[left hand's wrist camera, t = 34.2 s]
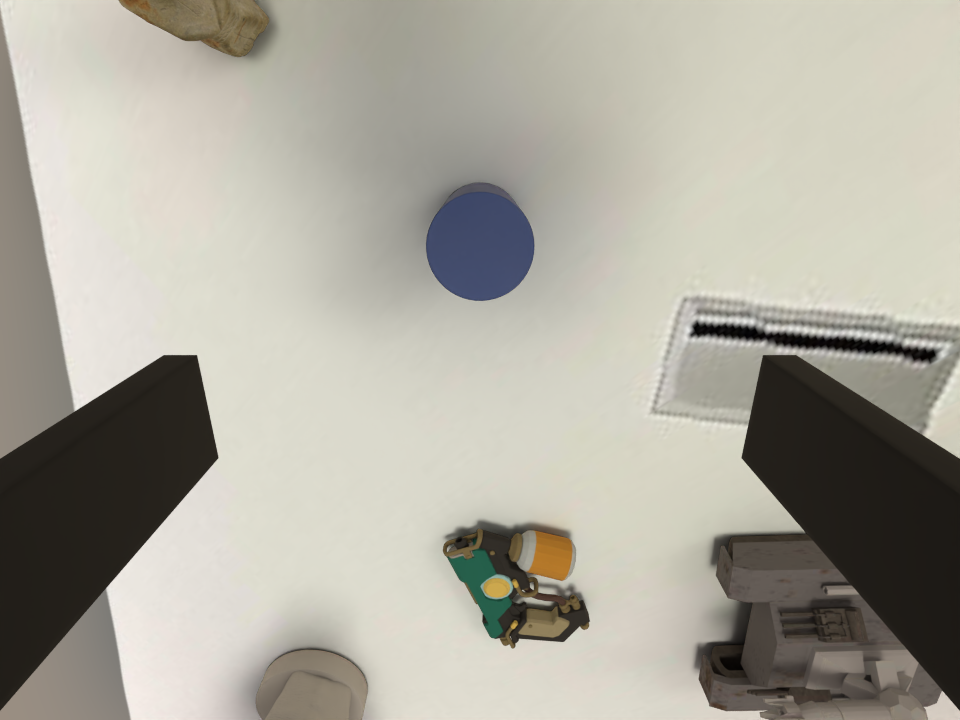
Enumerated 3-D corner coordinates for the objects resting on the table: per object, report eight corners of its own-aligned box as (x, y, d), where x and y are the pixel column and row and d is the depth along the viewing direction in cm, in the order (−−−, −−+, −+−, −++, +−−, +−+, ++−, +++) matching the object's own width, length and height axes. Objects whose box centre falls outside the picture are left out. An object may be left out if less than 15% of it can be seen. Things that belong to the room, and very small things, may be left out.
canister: (441, 178, 43) (428, 186, 33) (526, 186, 44) (541, 197, 33) (436, 263, 46) (423, 296, 35) (516, 270, 46) (527, 305, 35)
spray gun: (586, 623, 62) (459, 627, 63) (585, 512, 55) (442, 519, 56) (592, 656, 58) (457, 661, 59) (591, 542, 51) (438, 549, 52)
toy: (952, 527, 56) (1110, 651, 42) (904, 662, 63) (1024, 806, 49) (713, 533, 56) (790, 659, 42) (692, 667, 64) (752, 812, 50)
